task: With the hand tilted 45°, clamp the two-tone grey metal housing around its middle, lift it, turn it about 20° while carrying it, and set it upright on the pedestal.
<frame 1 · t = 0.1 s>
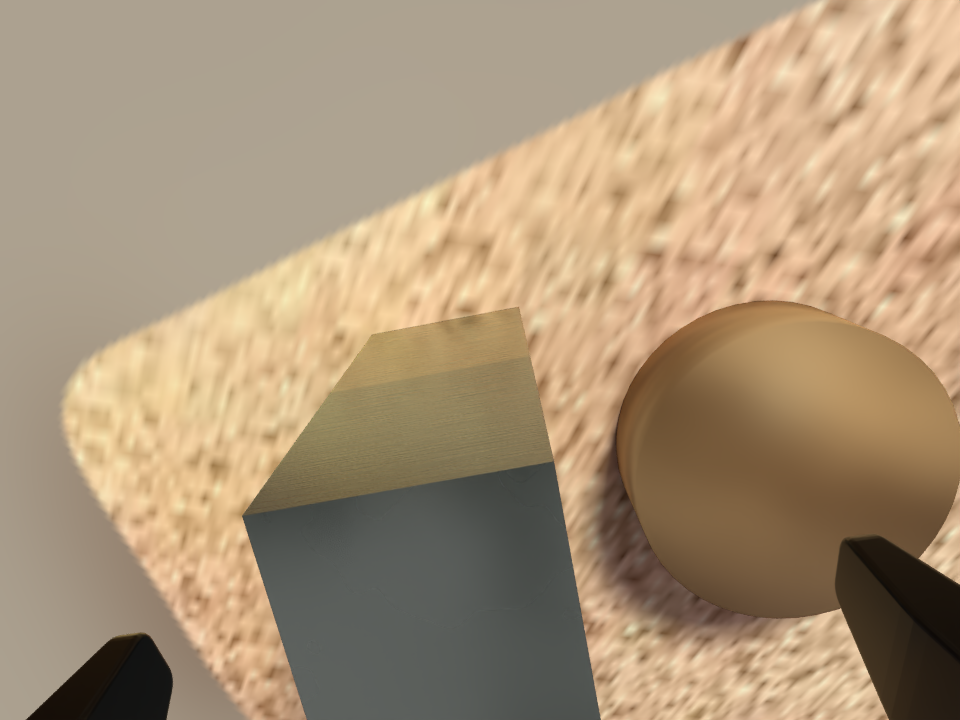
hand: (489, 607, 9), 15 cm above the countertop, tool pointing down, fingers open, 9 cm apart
pedestal: (755, 437, 25), on the countertop
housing: (459, 391, 24), on the countertop
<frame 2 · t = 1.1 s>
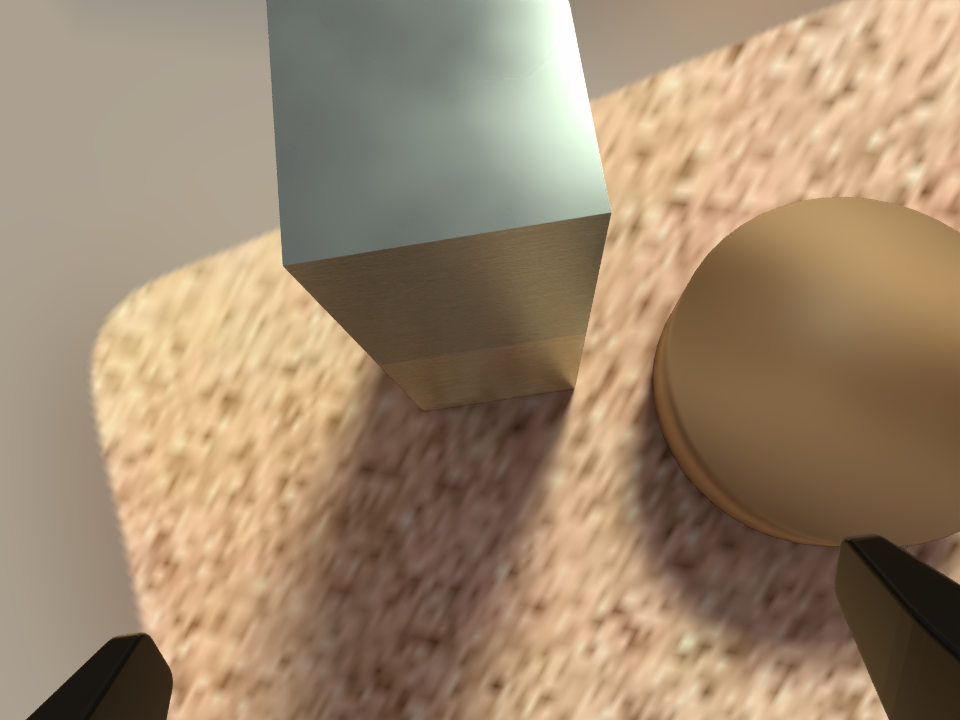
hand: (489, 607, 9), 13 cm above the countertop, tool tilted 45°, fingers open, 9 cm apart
pedestal: (808, 387, 22), on the countertop
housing: (488, 327, 24), on the countertop
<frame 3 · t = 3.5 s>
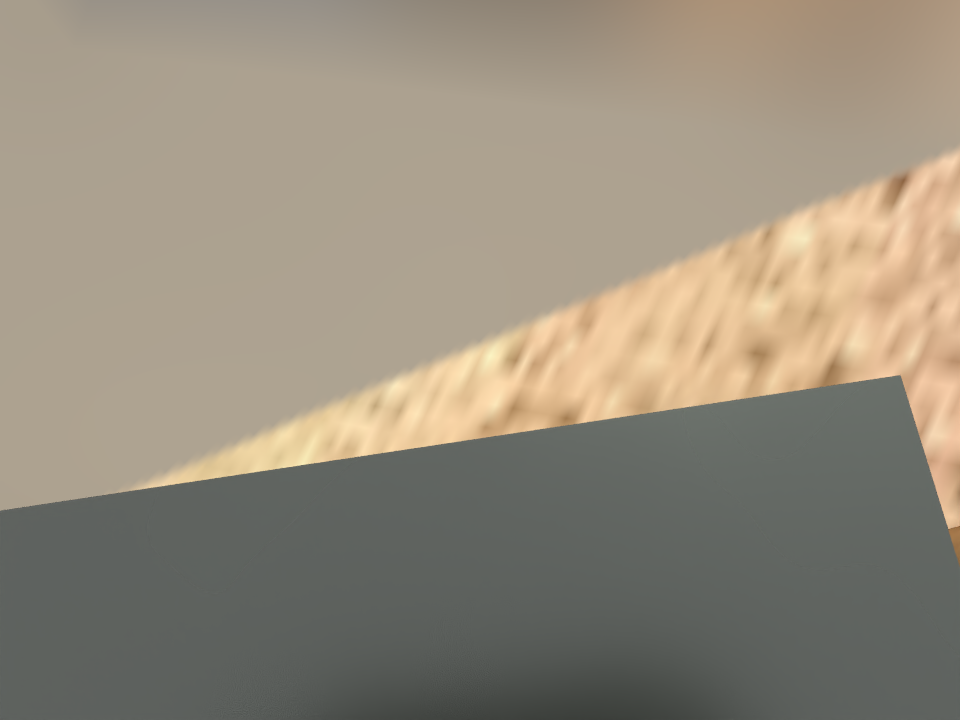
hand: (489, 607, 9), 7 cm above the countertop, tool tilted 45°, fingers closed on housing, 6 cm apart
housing: (521, 647, 15), on the countertop, touching gripper
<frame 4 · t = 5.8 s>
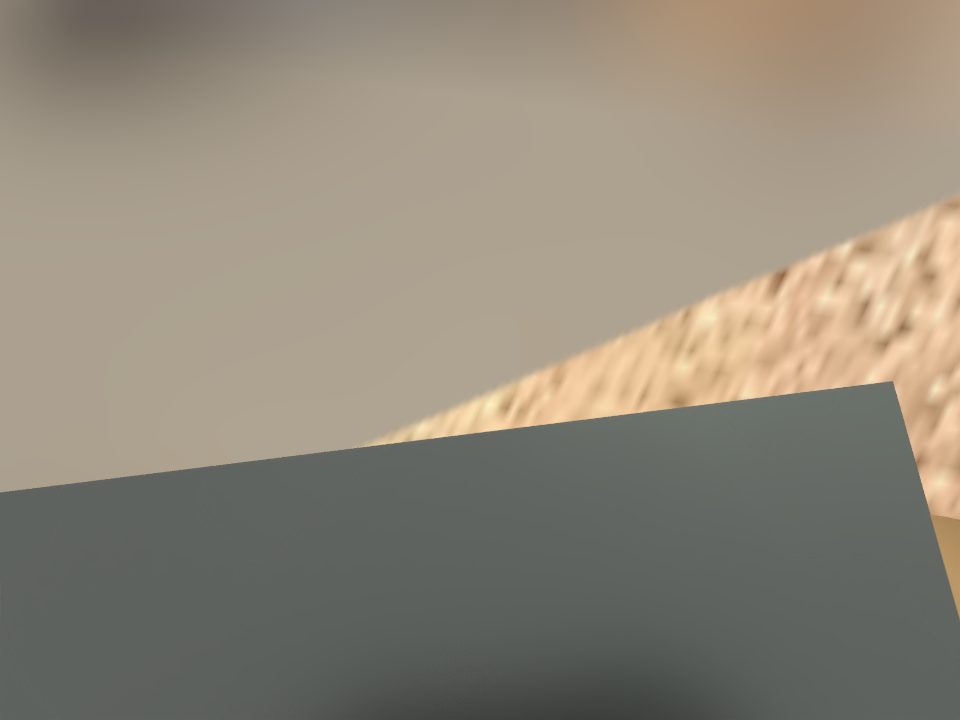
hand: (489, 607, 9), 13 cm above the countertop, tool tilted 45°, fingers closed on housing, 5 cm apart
pedestal: (873, 692, 20), on the countertop
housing: (528, 646, 15), point 7 cm above the countertop, touching gripper
when the fingers open (11 cm above the countertop, at t = 7.6 s): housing stays where it is, resting on pedestal.
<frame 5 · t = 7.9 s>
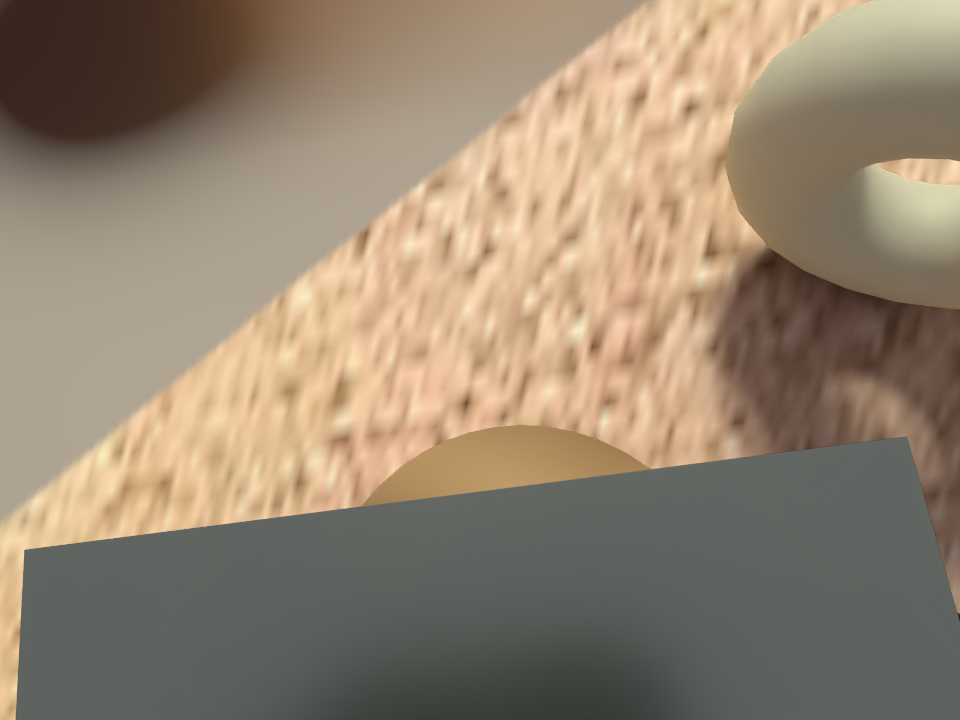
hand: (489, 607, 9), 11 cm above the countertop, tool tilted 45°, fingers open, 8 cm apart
donut: (847, 259, 21), on the countertop
pedestal: (527, 620, 19), on the countertop
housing: (529, 641, 16), point 4 cm above the countertop, touching pedestal
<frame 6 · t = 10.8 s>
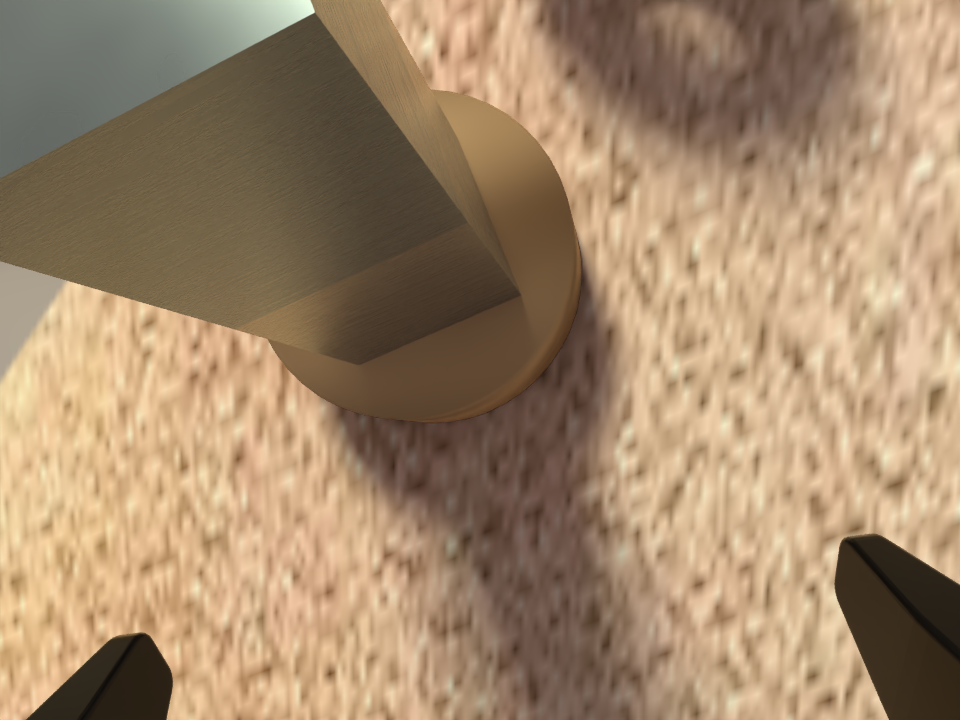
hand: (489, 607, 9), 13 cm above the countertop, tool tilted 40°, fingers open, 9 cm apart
pedestal: (436, 277, 24), on the countertop
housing: (408, 251, 20), point 3 cm above the countertop, touching pedestal
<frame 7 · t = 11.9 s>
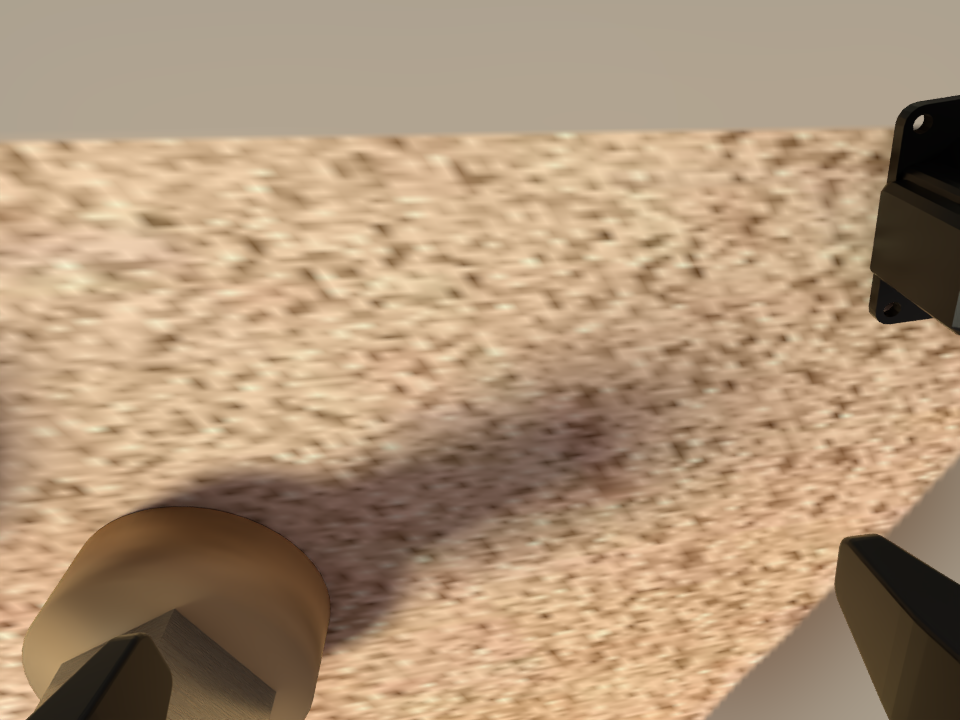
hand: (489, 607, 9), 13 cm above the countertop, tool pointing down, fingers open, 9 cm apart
pedestal: (204, 601, 27), on the countertop
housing: (171, 678, 24), point 3 cm above the countertop, touching pedestal
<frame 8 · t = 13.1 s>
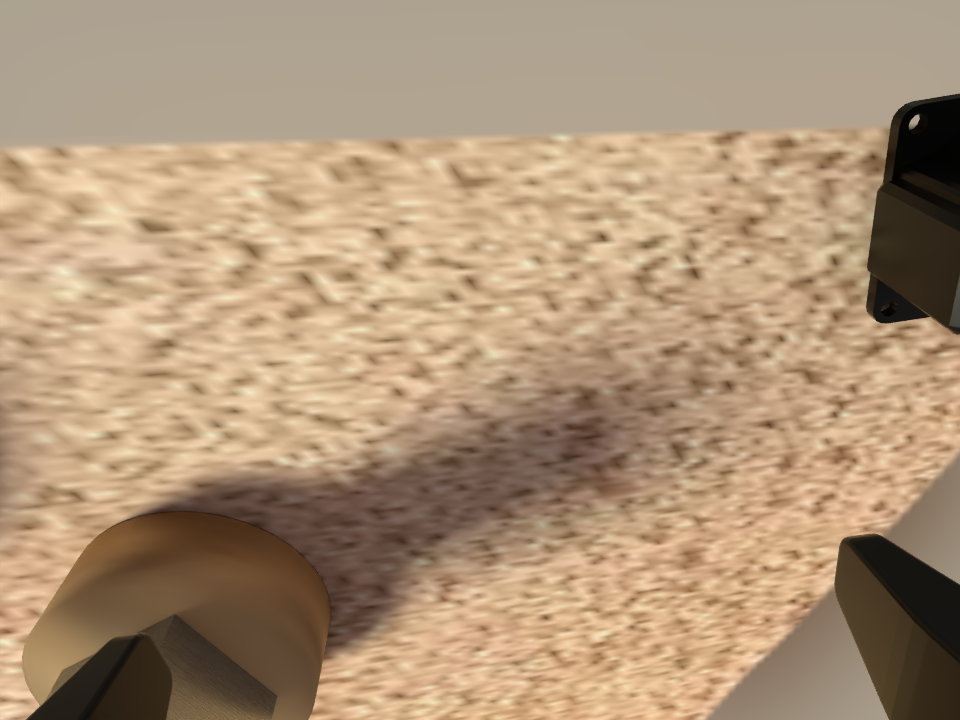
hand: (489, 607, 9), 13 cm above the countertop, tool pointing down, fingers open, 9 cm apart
pedestal: (204, 606, 27), on the countertop
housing: (172, 683, 24), point 3 cm above the countertop, touching pedestal
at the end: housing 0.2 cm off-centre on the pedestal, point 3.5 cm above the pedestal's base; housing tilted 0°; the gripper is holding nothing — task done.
